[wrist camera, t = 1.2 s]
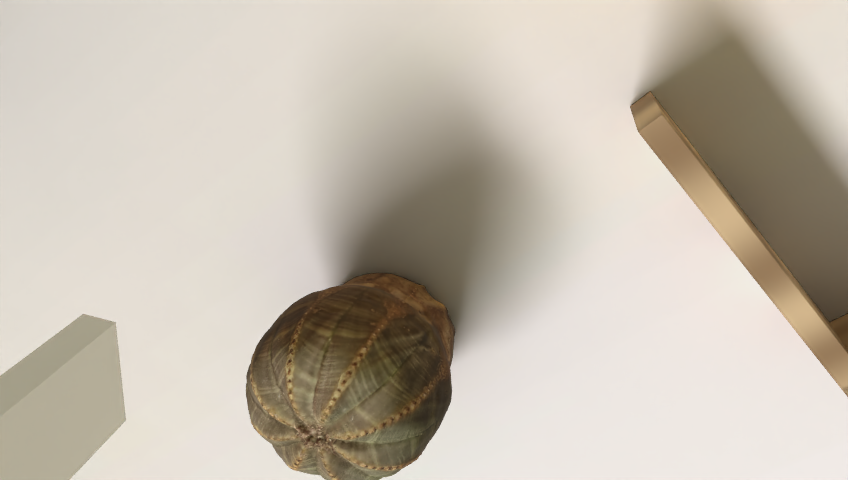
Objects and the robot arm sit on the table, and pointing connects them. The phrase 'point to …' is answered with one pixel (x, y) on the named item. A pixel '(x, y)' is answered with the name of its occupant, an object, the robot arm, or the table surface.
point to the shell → (353, 378)
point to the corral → (744, 238)
